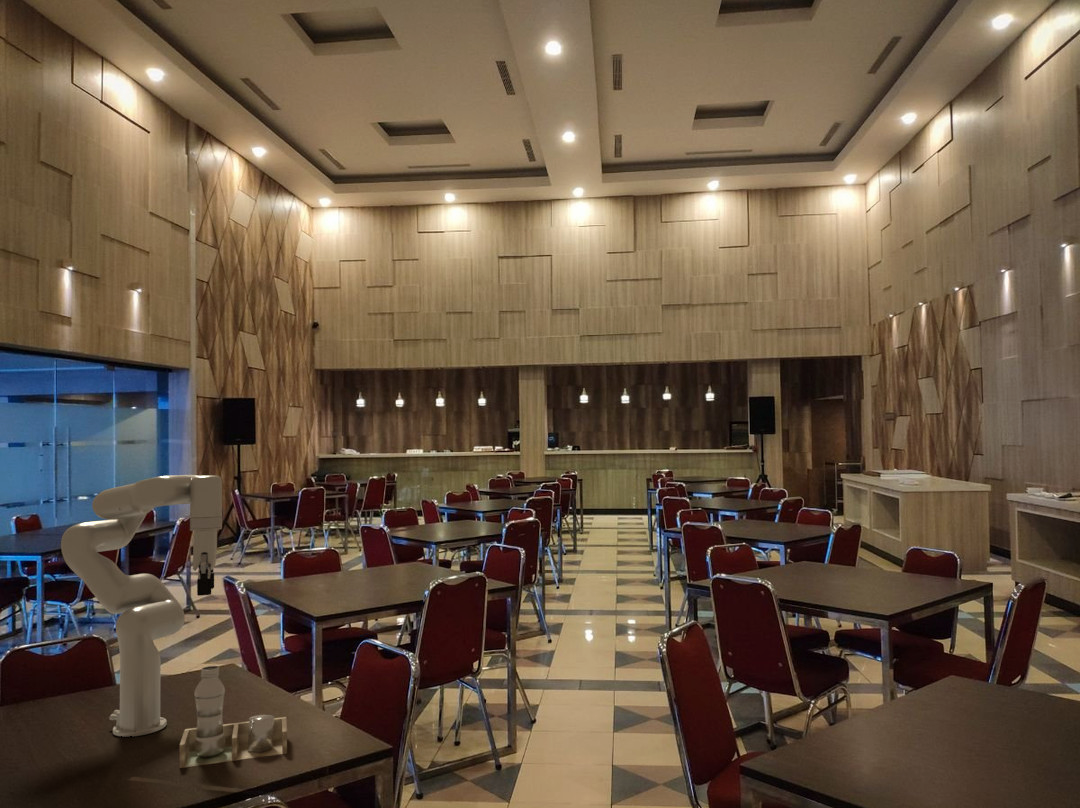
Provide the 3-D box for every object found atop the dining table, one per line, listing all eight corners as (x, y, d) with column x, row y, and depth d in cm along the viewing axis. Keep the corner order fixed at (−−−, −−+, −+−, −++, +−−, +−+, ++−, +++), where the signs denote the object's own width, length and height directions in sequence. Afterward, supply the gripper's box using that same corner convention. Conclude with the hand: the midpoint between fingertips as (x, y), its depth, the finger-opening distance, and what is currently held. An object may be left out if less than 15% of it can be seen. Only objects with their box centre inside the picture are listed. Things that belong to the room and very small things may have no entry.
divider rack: (179, 771, 178) (179, 744, 178) (184, 754, 188) (184, 729, 189) (286, 756, 185) (286, 731, 185) (286, 740, 195) (286, 716, 196)
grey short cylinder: (250, 753, 184) (251, 721, 185) (245, 747, 189) (247, 716, 190) (274, 749, 187) (276, 718, 188) (269, 743, 192) (271, 713, 193)
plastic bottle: (225, 757, 183) (225, 669, 184) (193, 762, 180) (194, 673, 182) (225, 748, 189) (225, 662, 190) (194, 752, 186) (194, 666, 188)
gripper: (193, 522, 209) (193, 587, 208) (186, 527, 192) (186, 598, 191) (224, 520, 211) (223, 585, 210) (219, 526, 195) (219, 596, 194)
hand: (205, 591), depth 201 cm, fingers open, 9 cm apart
